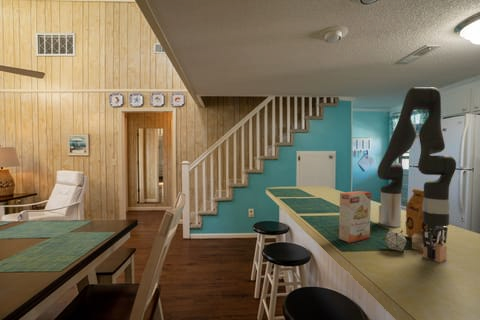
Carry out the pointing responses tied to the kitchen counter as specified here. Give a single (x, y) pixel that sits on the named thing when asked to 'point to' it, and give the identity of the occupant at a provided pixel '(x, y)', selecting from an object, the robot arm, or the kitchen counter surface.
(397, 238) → the game die
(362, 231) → the cracker box
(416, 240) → the birch block
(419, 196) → the coffee package
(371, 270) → the kitchen counter surface
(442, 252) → the terracotta block
